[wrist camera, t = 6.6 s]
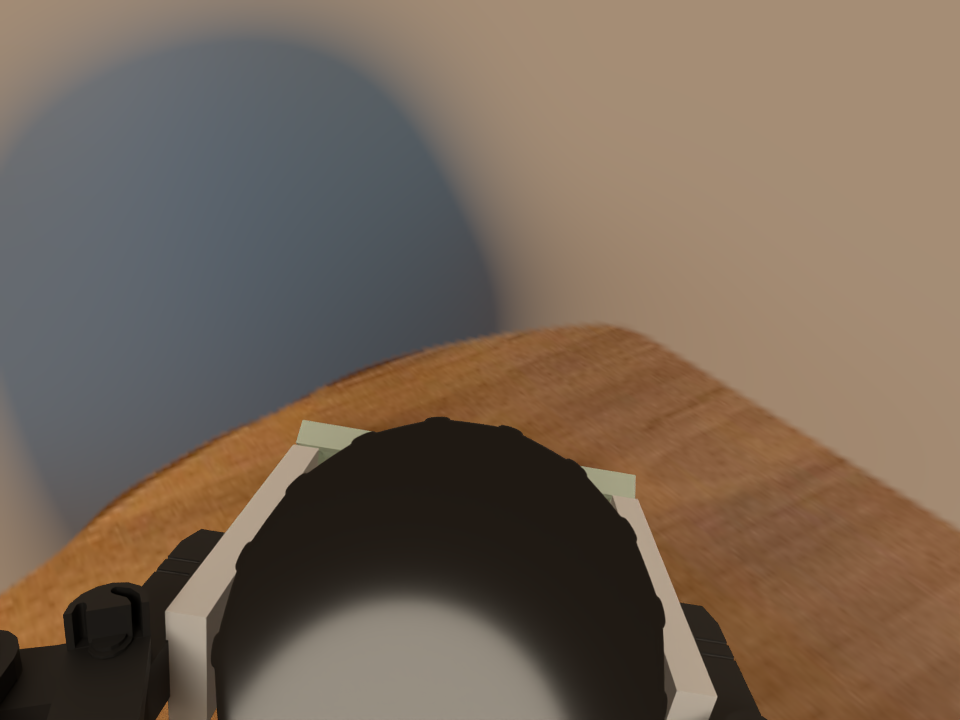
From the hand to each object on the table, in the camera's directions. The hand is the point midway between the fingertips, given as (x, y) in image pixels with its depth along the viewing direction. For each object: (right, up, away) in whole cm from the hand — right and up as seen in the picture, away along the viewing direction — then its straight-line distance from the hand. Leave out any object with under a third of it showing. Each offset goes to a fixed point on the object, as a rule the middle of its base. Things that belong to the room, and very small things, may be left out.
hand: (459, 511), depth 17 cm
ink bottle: (-1, -5, +3) cm, 6 cm away
